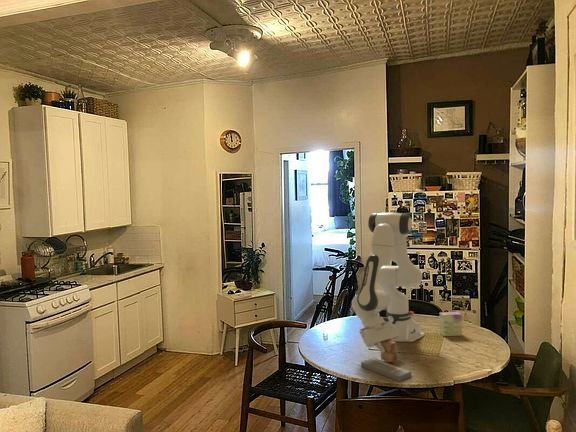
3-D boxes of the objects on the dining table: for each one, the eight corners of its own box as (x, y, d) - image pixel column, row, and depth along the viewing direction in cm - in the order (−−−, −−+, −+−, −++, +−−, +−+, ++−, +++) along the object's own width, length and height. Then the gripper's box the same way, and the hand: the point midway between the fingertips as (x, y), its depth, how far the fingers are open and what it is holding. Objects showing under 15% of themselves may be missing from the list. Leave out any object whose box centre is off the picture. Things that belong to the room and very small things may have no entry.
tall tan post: (388, 356, 218) (388, 339, 217) (396, 359, 214) (396, 342, 213) (381, 359, 215) (380, 342, 214) (389, 362, 211) (388, 344, 210)
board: (373, 362, 216) (373, 357, 216) (411, 376, 198) (411, 371, 198) (361, 366, 211) (361, 361, 211) (398, 381, 193) (398, 376, 193)
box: (457, 332, 255) (457, 311, 254) (462, 335, 249) (461, 314, 249) (439, 333, 255) (439, 312, 254) (443, 336, 249) (442, 315, 248)
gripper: (361, 325, 213) (377, 351, 206) (391, 317, 225) (407, 342, 217) (354, 332, 217) (370, 359, 209) (384, 324, 229) (400, 349, 221)
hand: (389, 350), depth 214 cm, fingers closed on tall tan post, 5 cm apart
